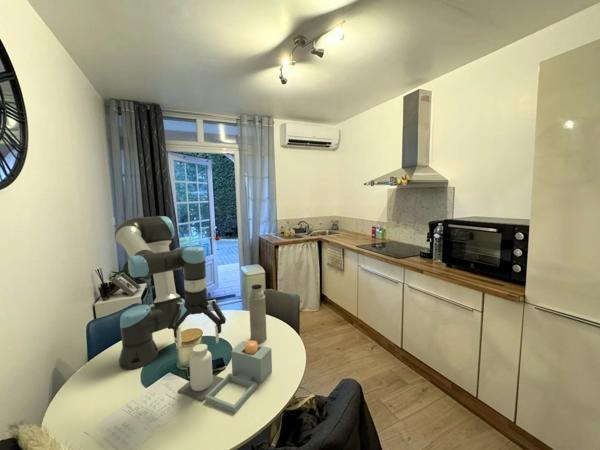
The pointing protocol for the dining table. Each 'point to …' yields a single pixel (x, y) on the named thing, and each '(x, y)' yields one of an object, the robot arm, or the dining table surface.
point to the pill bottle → (200, 368)
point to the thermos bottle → (257, 314)
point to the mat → (199, 394)
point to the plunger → (251, 347)
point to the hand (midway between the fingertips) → (198, 343)
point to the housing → (243, 374)
